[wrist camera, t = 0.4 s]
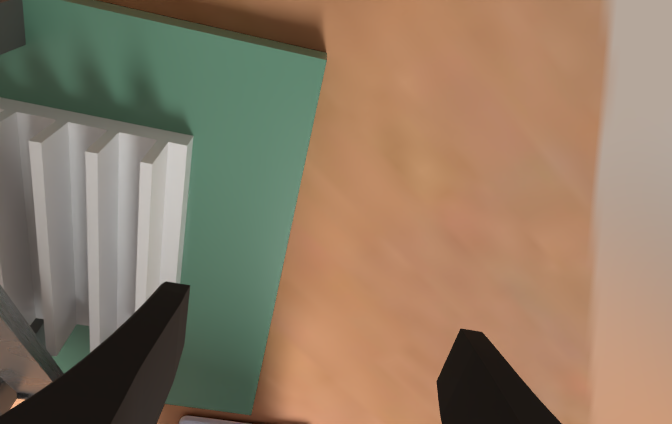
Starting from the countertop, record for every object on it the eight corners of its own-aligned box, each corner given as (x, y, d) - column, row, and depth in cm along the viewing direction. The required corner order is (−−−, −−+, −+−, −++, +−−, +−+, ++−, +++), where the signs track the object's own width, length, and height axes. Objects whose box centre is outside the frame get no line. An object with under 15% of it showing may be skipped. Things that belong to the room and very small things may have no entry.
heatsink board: (253, 397, 29) (237, 501, 24) (-81, 351, 27) (-179, 454, 22) (326, 52, 19) (326, 100, 14) (-188, -65, 17) (-412, -59, 12)
